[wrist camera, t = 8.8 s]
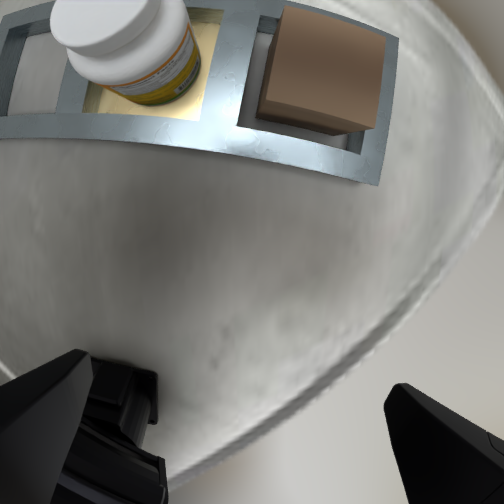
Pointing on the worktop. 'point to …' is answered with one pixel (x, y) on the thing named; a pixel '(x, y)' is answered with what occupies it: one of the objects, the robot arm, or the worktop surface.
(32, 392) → the robot arm
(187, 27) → the supplement bottle
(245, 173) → the worktop surface
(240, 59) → the rail
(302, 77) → the walnut block
